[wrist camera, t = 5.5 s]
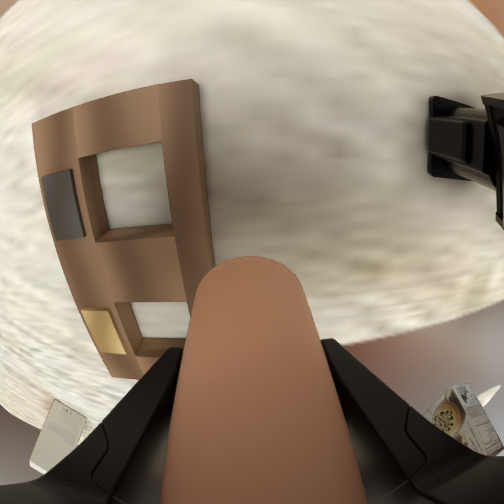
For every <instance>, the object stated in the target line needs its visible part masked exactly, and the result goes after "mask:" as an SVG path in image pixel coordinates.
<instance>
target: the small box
mask: <svg viewBox="0 0 504 504" xmlns="http://www.w3.org/2000/svg"><path fill="white" fill-rule="evenodd" d="M86 421H87V418H86V417H84V416H82V415H80V414H79V413H77V412H75V411H74V410H72V409H70V408H69V407H67V406H65V405H64V404H62V403H60V402H59V401H57V400H54V402H53V404H52V406H51V408H50V411H49V413H48V415H47V418H46V420H45V422H44V425H43V427H42V429H41V432H40V434H39V436H38V439H37V441H36V444H35V446H34V449H33V451H32V454H31V457H30V459H29V462H30V466H31V467H33V468H34V469H36V470H38V471H39V472H41V473H43V474H45V473H47V472H48V471H49V470H50V469H51V468H53V467H54V466H55V465H56V464H57V463H59V462H60V461H61V460H62V459H63V458H65V457H66V456H67V455H68V454H69V453H70V452H72V451H73V450H74V449H75V448H76V447H77V445H78V442H79V439H80V436H81V434H82V431H83V428H84V426H85V423H86Z"/></svg>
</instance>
